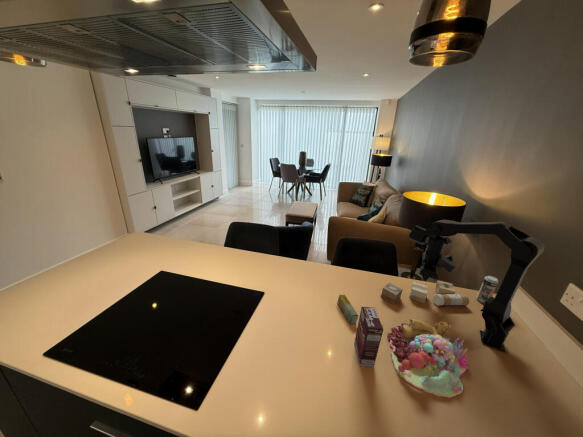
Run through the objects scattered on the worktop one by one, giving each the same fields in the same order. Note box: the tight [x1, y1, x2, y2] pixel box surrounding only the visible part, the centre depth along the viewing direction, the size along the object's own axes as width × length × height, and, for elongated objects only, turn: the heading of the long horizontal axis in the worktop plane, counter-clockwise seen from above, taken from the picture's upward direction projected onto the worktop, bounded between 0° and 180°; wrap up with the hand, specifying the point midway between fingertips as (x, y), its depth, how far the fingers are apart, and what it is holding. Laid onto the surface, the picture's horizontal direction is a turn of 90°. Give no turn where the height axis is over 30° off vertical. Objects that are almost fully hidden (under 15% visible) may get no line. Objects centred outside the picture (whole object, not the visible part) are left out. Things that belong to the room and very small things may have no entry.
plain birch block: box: [408, 281, 429, 304], centre depth 103 cm, size 6×6×5 cm
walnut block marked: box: [380, 282, 403, 305], centre depth 101 cm, size 6×6×5 cm
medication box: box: [337, 294, 359, 325], centre depth 91 cm, size 12×3×4 cm, turn 14°
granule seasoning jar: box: [432, 293, 470, 307], centre depth 99 cm, size 5×5×14 cm
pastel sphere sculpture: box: [387, 318, 469, 399], centre depth 74 cm, size 25×24×9 cm
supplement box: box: [353, 306, 384, 367], centre depth 72 cm, size 9×5×16 cm, turn 177°
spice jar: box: [475, 275, 499, 304], centre depth 101 cm, size 5×5×12 cm
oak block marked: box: [434, 280, 456, 295], centre depth 105 cm, size 6×6×5 cm
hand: (424, 280), depth 101 cm, fingers closed
